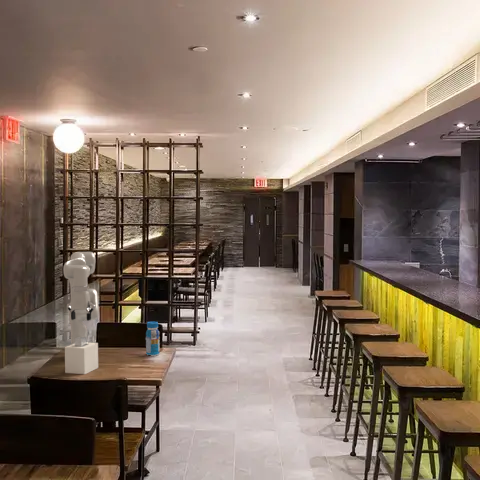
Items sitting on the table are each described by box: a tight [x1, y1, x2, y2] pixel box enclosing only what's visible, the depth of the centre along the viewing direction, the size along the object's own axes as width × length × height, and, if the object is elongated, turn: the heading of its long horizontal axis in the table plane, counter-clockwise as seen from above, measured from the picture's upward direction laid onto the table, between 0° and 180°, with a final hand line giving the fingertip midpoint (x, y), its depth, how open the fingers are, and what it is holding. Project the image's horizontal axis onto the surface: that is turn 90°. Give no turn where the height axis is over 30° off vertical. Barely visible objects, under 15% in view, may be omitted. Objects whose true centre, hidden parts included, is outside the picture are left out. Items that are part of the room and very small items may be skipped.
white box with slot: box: [64, 341, 99, 375], centre depth 322 cm, size 12×14×14 cm
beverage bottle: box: [145, 321, 161, 357], centre depth 358 cm, size 8×8×20 cm
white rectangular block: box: [75, 336, 88, 347], centre depth 322 cm, size 4×6×10 cm, turn 164°
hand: (81, 319), depth 322 cm, fingers open, 9 cm apart
